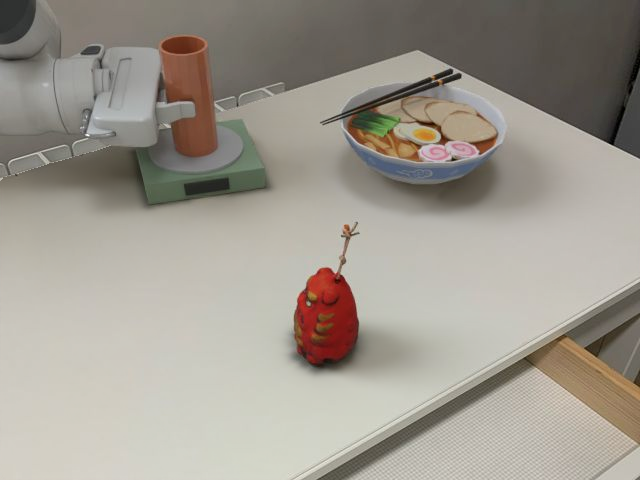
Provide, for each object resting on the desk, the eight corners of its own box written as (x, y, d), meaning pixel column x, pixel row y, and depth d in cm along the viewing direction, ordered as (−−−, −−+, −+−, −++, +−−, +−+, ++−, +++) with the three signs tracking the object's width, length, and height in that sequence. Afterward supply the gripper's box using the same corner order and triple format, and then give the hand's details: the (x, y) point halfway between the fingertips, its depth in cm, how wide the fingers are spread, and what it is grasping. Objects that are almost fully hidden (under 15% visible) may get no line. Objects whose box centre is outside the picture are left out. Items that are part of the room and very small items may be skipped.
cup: (195, 161, 89) (181, 59, 79) (165, 146, 92) (148, 45, 82) (227, 144, 92) (217, 44, 82) (197, 130, 95) (184, 30, 85)
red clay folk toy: (287, 326, 75) (284, 208, 63) (347, 317, 76) (355, 200, 64) (302, 375, 70) (301, 257, 58) (366, 364, 71) (378, 247, 59)
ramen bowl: (401, 238, 85) (409, 179, 79) (299, 160, 97) (298, 104, 90) (535, 178, 95) (551, 121, 88) (427, 114, 106) (435, 59, 100)
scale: (149, 206, 89) (144, 182, 86) (136, 152, 97) (131, 129, 95) (265, 188, 92) (264, 165, 89) (243, 138, 100) (241, 115, 98)
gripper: (69, 111, 77) (189, 108, 78) (92, 38, 90) (195, 35, 91) (83, 162, 82) (197, 158, 83) (103, 86, 95) (201, 83, 95)
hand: (196, 93), depth 87 cm, fingers closed on cup, 6 cm apart
